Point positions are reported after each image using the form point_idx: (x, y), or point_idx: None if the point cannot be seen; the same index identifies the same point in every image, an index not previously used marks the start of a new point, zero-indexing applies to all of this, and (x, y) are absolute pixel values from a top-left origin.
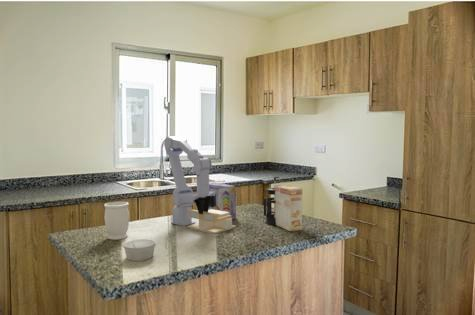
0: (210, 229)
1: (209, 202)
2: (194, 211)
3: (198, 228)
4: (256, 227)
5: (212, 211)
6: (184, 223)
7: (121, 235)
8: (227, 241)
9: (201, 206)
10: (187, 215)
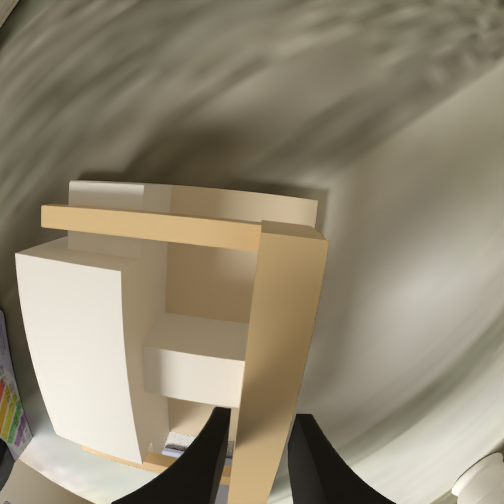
0: None
1: (186, 489)
2: (268, 491)
3: None
4: (35, 80)
5: (93, 408)
6: None
7: (497, 461)
8: (402, 42)
9: (355, 474)
10: (215, 500)
